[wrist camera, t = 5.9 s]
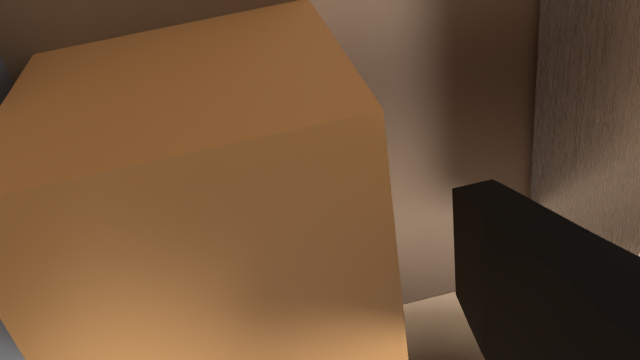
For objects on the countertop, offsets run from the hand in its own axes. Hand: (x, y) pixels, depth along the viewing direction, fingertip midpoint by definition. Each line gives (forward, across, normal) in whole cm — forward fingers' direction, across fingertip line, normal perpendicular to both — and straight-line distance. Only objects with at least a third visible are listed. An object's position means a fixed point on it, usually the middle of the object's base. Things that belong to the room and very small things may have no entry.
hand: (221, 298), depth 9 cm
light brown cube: (+4, 0, 0) cm, 4 cm away
